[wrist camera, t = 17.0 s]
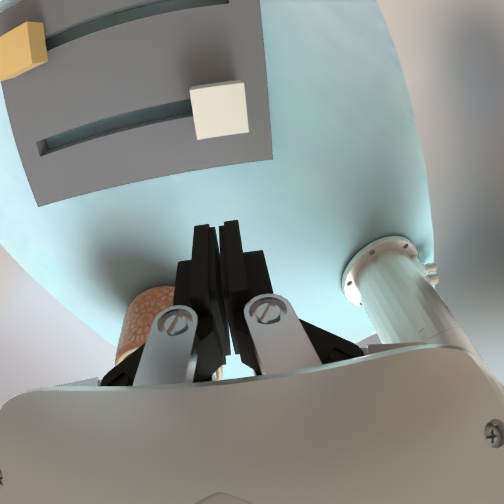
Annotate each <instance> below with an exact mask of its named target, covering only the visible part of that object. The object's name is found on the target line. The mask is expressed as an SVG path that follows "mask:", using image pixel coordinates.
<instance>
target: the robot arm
mask: <svg viewBox="0 0 504 504" xmlns="http://www.w3.org/2000/svg"><path fill="white" fill-rule="evenodd" d="M219 241H220V253H219V247H218V242H217V236H216V231H215V227H209V224H205V225H198V226H195V227H194V236H193V247H192V259H191V260H187V261H180V262H178V266H177V274H176V281H175V289H174V298H173V306H172V307H169V308H166V309H164V310H163V311H161V312H160V313H159V314H158V315H157V316H156V317H155V319H154V321H153V324H152V326H151V329H150V332H149V335H148V338H147V341H146V342H145V343H144V344H143V345H141V346H140V347H139V348H138V349H136V350H135V351H134V352H133V353H131V354H130V355H129V356H128V357H126V358H125V359H124V360H123V361H122V362H120V363H119V364H118V365H117V366H115V367H114V368H113V369H112V370H110V371H109V372H108V373H107V374H106V375H105V376H104V377H103V379H102V380H99V379H98V377H96V378H91V379H87V380H82V381H77V382H73V383H68V384H63V385H57V386H54V387H43V388H36V389H31V390H27V391H24V392H21V393H18V394H16V395H14V396H12V397H10V398H9V399H7V400H6V401H5V402H4V403H3V404H2V406H1V408H0V504H504V386H503V384H502V383H501V382H500V381H499V379H498V378H497V377H496V376H495V374H494V373H493V372H492V370H491V369H490V368H489V367H488V365H487V364H486V363H485V361H484V360H483V358H482V357H481V355H480V354H479V352H478V351H477V349H476V348H475V347H474V345H473V343H472V342H471V340H470V339H469V337H468V336H467V334H466V333H465V331H464V330H463V329H462V327H461V326H460V324H459V323H458V321H457V320H456V318H455V317H454V315H453V314H452V312H451V311H450V310H449V308H448V307H447V305H446V304H445V302H444V301H443V300H442V298H441V297H440V296H439V294H438V293H437V291H436V290H435V289H434V287H433V286H432V285H434V284H437V283H438V282H439V276H438V274H437V273H436V272H434V271H436V270H437V266H436V263H434V262H433V263H428V264H426V265H424V264H422V263H421V262H420V261H419V254H418V251H417V249H416V247H415V246H414V245H413V244H412V242H411V241H410V240H408V239H406V238H405V237H401V236H388V237H383V238H380V239H378V240H375V241H374V242H372V243H370V244H368V245H367V246H365V247H364V248H362V249H361V250H360V251H359V252H358V253H357V254H356V255H355V256H354V257H353V258H352V260H351V261H350V262H349V264H348V266H347V267H346V269H345V271H344V274H343V278H342V289H343V293H344V294H345V296H346V298H347V299H348V301H349V302H350V303H352V304H354V305H356V306H360V307H364V309H365V311H366V313H367V315H368V317H369V319H370V321H371V323H372V324H373V326H374V328H375V330H376V332H377V334H378V336H379V338H380V340H381V342H382V344H371V345H367V348H359V346H357V345H355V344H354V343H352V342H350V341H347V340H345V339H343V338H341V337H338V336H336V335H334V334H332V333H330V332H327V331H325V330H323V329H321V328H318V327H316V326H314V325H312V324H310V323H308V322H305V321H303V320H301V319H299V318H298V317H297V315H296V313H295V311H294V309H293V307H292V305H291V304H290V302H289V301H288V300H287V299H286V298H284V297H282V296H280V295H276V294H273V290H272V286H271V282H270V277H269V273H268V269H267V265H266V261H265V257H264V253H263V250H259V251H252V252H245V253H243V250H242V243H241V237H240V230H239V223H238V220H233V221H226V222H224V226H219ZM430 272H432V273H430ZM426 273H428V274H426ZM228 323H229V325H228ZM229 328H230V333H231V337H232V342H233V346H234V351H235V354H240V357H241V361H242V363H244V364H245V365H247V366H249V367H250V368H252V369H253V371H254V376H252V377H244V378H236V379H228V380H218V381H216V371H217V370H218V369H219V368H220V367H221V366H222V365H225V364H226V357H225V356H227V355H231V350H230V338H229Z"/></svg>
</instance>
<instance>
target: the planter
mask: <svg viewBox="0 0 504 504" xmlns="http://www.w3.org/2000/svg"><path fill="white" fill-rule="evenodd" d="M174 289H175V286H159V287H154V288H151V289H148V290H146V291H144V292H142V293H141V294H139V295H138V296H137V297H136V298H135V299H134V300H133V301H132V302H131V304H130V305H129V307H128V309H127V311H126V314H125V317H124V320H123V325H122V330H121V334H120V338H119V343H118V347H117V353H116V359H115V366H117V365H118V364H119V363H120V362H122V361H123V360H124V359H125V358H126V357H128V356H129V355H130V354H131V353H133V352H134V351H135V350H136V349H138V348H139V347H140V346H141V345H143V344H144V343H145V342H146V341H147V338H148V335H149V332H150V329H151V326H152V324H153V321H154V319H155V317H156V316H157V315H158V314H159V313H160V312H161V311H163V310H164V309H166V308H169V307H172V306H173V298H174ZM221 378H222V366H221V367H220V368H219V369H218V370H217V371H216V381H218V380H221Z"/></svg>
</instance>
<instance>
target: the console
mask: <svg viewBox="0 0 504 504" xmlns="http://www.w3.org/2000/svg"><path fill="white" fill-rule="evenodd" d="M163 1H168V0H23V1H21V2H19V3H18V4H16V5H14V6H12V7H11V8H9V9H7V10H6V11H4V12H3V13H1V14H0V37H1V36H3V35H4V34H6V33H8V32H9V31H11V30H13V29H14V28H16V27H18V26H20V25H22V24H23V23H25V22H39V23H43V25H44V34H45V40H47V39H50V38H52V37H54V36H56V35H59V34H61V33H63V32H66V31H68V30H71V29H73V28H76V27H78V26H81V25H83V24H86V23H89V22H92V21H95V20H97V19H100V18H103V17H106V16H110V15H113V14H116V13H119V12H123V11H126V10H130V9H134V8H138V7H141V6H146V5H150V4H154V3H159V2H163ZM47 56H48V62H45V63H43V64H41V65H39V66H37V67H35V68H32V69H30V70H28V71H26V72H24V73H22V74H20V75H19V76H17V77H15V78H11V79H7V80H4V81H1V84H2V89H3V94H4V99H5V103H6V108H7V112H8V116H9V120H10V124H11V128H12V131H13V135H14V139H15V142H16V145H17V149H18V152H19V155H20V158H21V161H22V164H23V167H24V170H25V173H26V176H27V179H28V182H29V184H30V187H31V190H32V192H33V195H34V198H35V200H36V203H37V205H38V207H40V206H44V205H47V204H51V203H54V202H58V201H61V200H65V199H68V198H72V197H76V196H80V195H83V194H87V193H91V192H95V191H99V190H103V189H107V188H112V187H116V186H120V185H125V184H129V183H134V182H138V181H143V180H148V179H153V178H158V177H163V176H168V175H173V174H178V173H184V172H190V171H195V170H201V169H207V168H213V167H220V166H226V165H233V164H240V163H247V162H255V161H263V160H271V159H273V154H272V140H271V126H270V112H269V99H268V87H267V75H266V64H265V52H264V42H263V31H262V21H261V11H260V1H259V0H227V4H219V5H210V6H202V7H195V8H189V9H183V10H177V11H172V12H167V13H162V14H157V15H153V16H149V17H144V18H140V19H137V20H133V21H129V22H125V23H122V24H118V25H115V26H112V27H109V28H106V29H102V30H99V31H96V32H94V33H91V34H88V35H85V36H82V37H80V38H77V39H74V40H72V41H69V42H67V43H65V44H62V45H60V46H57V47H55V48H53V49H51V50H48V51H47ZM234 80H240V81H242V82H244V88H245V97H246V107H247V117H248V128H249V132H248V133H240V134H233V135H226V136H219V137H212V138H206V139H200V140H197V136H196V130H195V124H194V117H193V113H187V114H182V115H176V116H171V117H166V118H161V119H157V120H152V121H148V122H143V123H139V124H135V125H131V126H127V127H123V128H119V129H115V130H111V131H108V132H104V133H101V134H97V135H94V136H90V137H87V138H84V139H81V140H77V141H74V142H71V143H68V144H65V145H62V146H59V147H56V148H54V149H51V150H48V148H47V144H46V141H45V139H46V138H48V137H51V136H54V135H57V134H59V133H62V132H65V131H68V130H71V129H74V128H77V127H80V126H83V125H86V124H89V123H92V122H96V121H99V120H102V119H106V118H109V117H113V116H117V115H120V114H124V113H128V112H132V111H136V110H140V109H144V108H149V107H153V106H158V105H162V104H167V103H172V102H177V101H183V100H188V99H191V97H190V91H189V90H190V88H191V87H192V86H198V85H205V84H211V83H219V82H226V81H234Z"/></svg>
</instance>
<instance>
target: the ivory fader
mask: <svg viewBox="0 0 504 504" xmlns="http://www.w3.org/2000/svg"><path fill="white" fill-rule="evenodd" d="M189 91H190V97H191V104H192V111H193V117H194V124H195V130H196V136H197V140H200V139H206V138H212V137H219V136H226V135H233V134H240V133H248V132H249V128H248V117H247V107H246V97H245V88H244V82H242V81H240V80H234V81H226V82H219V83H211V84H205V85H198V86H192V87H191V88H190V90H189Z"/></svg>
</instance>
